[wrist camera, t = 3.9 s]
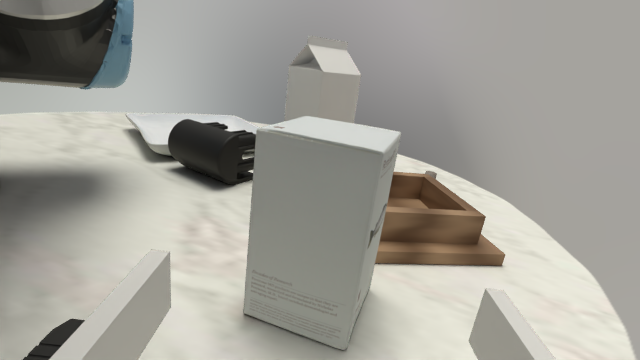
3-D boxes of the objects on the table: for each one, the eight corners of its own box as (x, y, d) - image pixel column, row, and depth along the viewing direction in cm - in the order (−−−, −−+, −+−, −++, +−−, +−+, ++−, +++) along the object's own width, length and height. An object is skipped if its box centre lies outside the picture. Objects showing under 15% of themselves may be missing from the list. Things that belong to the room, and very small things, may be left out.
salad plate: (283, 157, 61) (285, 137, 60) (150, 166, 49) (149, 142, 48) (234, 129, 77) (235, 113, 76) (124, 131, 65) (123, 112, 64)
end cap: (167, 170, 48) (166, 119, 45) (210, 161, 53) (211, 116, 51) (217, 192, 43) (219, 137, 40) (258, 180, 48) (262, 131, 46)
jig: (338, 262, 31) (345, 218, 29) (313, 193, 46) (317, 162, 44) (501, 265, 34) (514, 225, 32) (428, 199, 49) (435, 170, 47)
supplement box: (347, 355, 21) (385, 151, 17) (239, 314, 23) (250, 124, 19) (372, 288, 28) (404, 130, 24) (287, 261, 30) (303, 112, 26)
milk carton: (345, 178, 53) (366, 43, 47) (309, 185, 48) (327, 36, 42) (314, 164, 58) (329, 40, 52) (279, 169, 53) (291, 34, 47)
